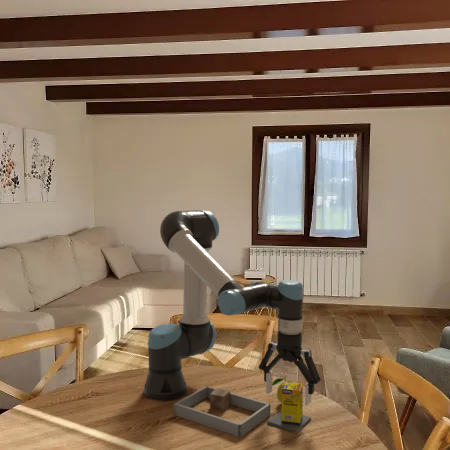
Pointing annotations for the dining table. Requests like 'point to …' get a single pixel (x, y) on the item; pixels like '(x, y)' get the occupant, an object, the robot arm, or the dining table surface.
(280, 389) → the lemon
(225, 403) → the walnut block
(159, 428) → the dining table surface
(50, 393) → the dining table surface
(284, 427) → the slate coaster
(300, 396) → the supplement box
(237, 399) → the grey bin
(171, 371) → the robot arm
